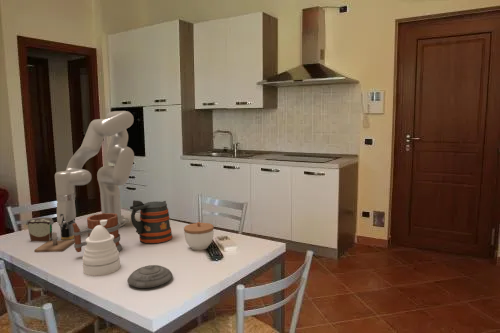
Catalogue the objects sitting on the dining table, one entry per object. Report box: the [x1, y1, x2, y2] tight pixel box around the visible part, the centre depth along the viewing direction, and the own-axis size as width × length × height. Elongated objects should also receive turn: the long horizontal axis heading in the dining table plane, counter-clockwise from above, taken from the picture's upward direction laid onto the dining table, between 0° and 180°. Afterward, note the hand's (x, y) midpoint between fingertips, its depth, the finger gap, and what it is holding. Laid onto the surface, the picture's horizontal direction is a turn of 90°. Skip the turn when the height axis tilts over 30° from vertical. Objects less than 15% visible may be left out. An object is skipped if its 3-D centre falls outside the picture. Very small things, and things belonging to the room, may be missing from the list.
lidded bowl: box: [183, 221, 215, 251], centre depth 164 cm, size 13×13×11 cm
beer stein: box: [129, 200, 173, 244], centre depth 174 cm, size 19×15×20 cm
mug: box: [72, 212, 123, 253], centre depth 160 cm, size 14×19×15 cm
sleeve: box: [59, 221, 77, 241], centre depth 181 cm, size 5×5×7 cm
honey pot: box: [82, 220, 121, 277], centre depth 142 cm, size 13×13×18 cm
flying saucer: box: [127, 264, 173, 289], centre depth 131 cm, size 15×15×6 cm
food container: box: [25, 217, 54, 243], centre depth 179 cm, size 12×6×10 cm, turn 84°
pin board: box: [34, 231, 75, 253], centre depth 168 cm, size 12×12×7 cm
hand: (68, 234), depth 181 cm, fingers open, 5 cm apart
